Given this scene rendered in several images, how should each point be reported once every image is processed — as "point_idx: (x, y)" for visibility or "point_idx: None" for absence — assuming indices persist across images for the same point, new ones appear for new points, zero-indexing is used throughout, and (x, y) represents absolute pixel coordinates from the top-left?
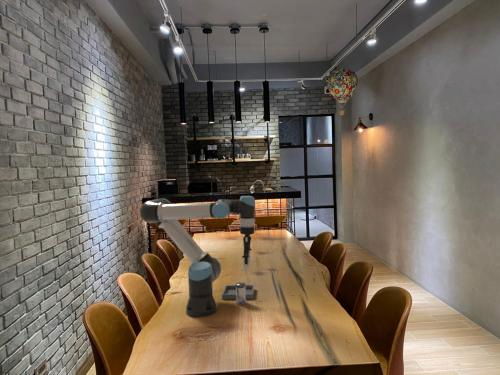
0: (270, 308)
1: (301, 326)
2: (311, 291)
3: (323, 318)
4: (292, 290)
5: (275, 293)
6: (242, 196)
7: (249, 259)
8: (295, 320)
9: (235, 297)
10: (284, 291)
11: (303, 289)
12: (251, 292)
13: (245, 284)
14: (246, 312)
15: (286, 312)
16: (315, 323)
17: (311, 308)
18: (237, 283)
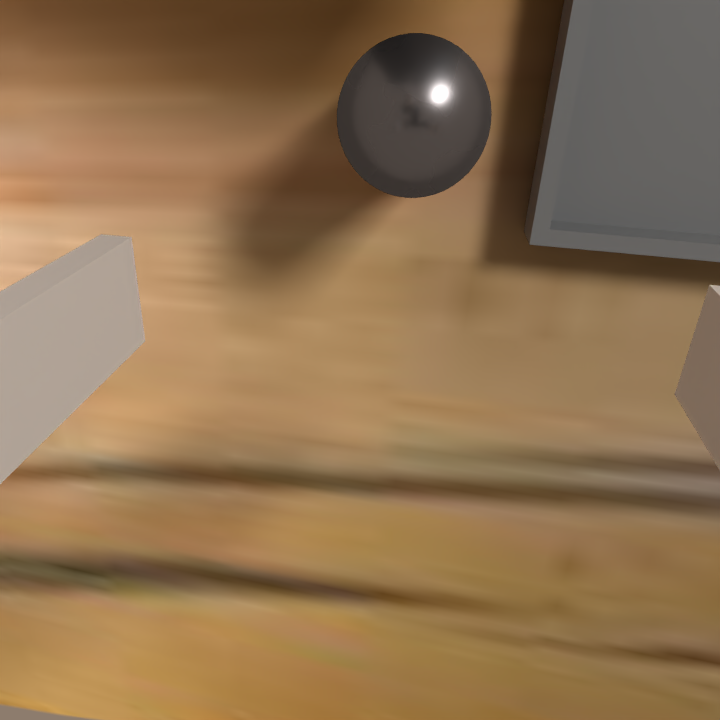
0: (287, 368)
1: (5, 505)
2: (620, 690)
3: (132, 629)
4: (689, 585)
5: (650, 450)
6: None
7: (707, 430)
8: (84, 492)
9: (562, 26)
10: (683, 526)
11: (686, 657)
12: (715, 227)
13: (395, 195)
14: (196, 158)
15: (210, 464)
16: (59, 579)
17: (283, 613)
18: (444, 65)
